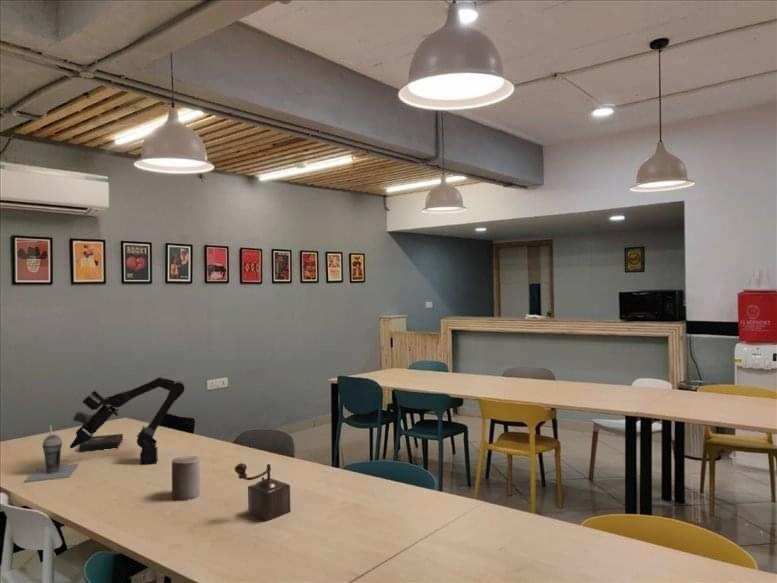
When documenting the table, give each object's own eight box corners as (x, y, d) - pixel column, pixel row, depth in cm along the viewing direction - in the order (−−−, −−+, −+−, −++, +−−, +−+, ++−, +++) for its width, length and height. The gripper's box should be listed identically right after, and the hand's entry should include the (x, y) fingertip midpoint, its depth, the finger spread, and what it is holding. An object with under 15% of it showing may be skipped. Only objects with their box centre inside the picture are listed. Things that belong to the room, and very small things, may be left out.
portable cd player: (86, 444, 278) (86, 437, 278) (122, 441, 284) (122, 433, 284) (78, 453, 263) (78, 445, 263) (117, 449, 268) (117, 441, 268)
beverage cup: (48, 475, 226) (47, 427, 226) (39, 473, 230) (38, 426, 230) (66, 470, 232) (65, 423, 233) (56, 468, 236) (55, 422, 236)
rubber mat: (78, 465, 242) (78, 463, 242) (69, 477, 225) (69, 475, 225) (37, 469, 237) (37, 468, 237) (24, 482, 220) (24, 481, 220)
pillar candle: (170, 502, 194) (170, 460, 194) (173, 492, 204) (173, 453, 204) (199, 499, 197) (198, 458, 197) (200, 490, 206) (200, 450, 206)
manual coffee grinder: (271, 504, 190) (270, 453, 191) (291, 512, 183) (290, 458, 183) (233, 518, 179) (231, 464, 179) (252, 527, 171) (251, 470, 172)
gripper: (90, 401, 244) (62, 428, 241) (81, 409, 227) (52, 438, 223) (109, 417, 247) (83, 444, 243) (103, 425, 229) (74, 455, 226)
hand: (72, 444), depth 234 cm, fingers open, 9 cm apart
